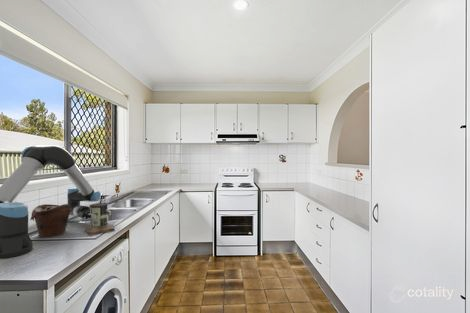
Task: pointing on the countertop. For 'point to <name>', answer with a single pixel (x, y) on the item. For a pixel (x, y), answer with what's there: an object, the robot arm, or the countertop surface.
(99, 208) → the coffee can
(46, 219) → the brown clay flowerpot
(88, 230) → the walnut board
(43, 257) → the countertop surface
